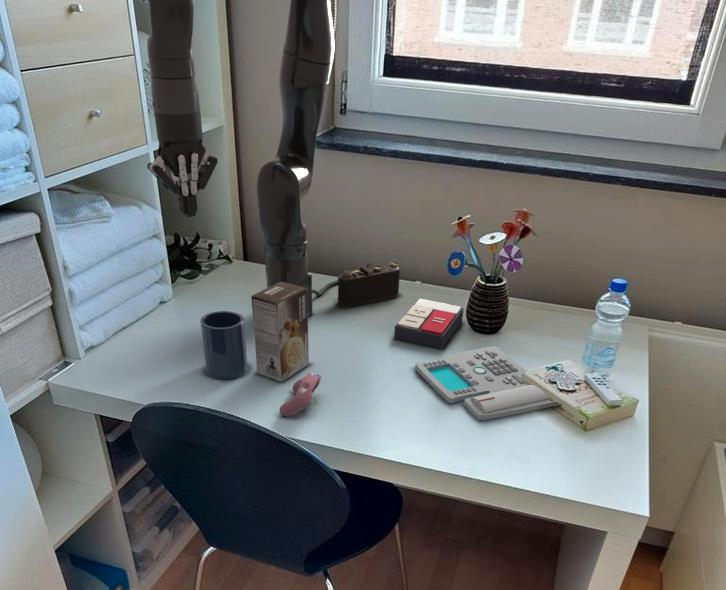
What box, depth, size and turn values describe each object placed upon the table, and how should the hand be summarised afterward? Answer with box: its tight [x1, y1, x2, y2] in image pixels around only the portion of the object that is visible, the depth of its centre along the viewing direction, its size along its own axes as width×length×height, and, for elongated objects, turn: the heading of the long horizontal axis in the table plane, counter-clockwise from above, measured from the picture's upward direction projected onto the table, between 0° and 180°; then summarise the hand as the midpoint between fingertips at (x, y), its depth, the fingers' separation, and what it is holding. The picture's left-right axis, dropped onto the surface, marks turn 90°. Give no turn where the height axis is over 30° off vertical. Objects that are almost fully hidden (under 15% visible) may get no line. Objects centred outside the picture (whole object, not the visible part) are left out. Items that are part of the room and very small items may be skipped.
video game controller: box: [279, 371, 323, 417], centre depth 122 cm, size 10×5×7 cm, turn 169°
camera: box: [337, 261, 401, 308], centre depth 162 cm, size 16×7×8 cm, turn 120°
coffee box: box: [250, 282, 310, 383], centre depth 129 cm, size 9×6×16 cm
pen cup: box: [199, 310, 248, 381], centre depth 130 cm, size 8×8×10 cm
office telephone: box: [414, 345, 562, 421], centre depth 131 cm, size 23×3×20 cm
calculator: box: [394, 298, 464, 350], centre depth 150 cm, size 11×4×15 cm
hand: (189, 215), depth 123 cm, fingers closed
